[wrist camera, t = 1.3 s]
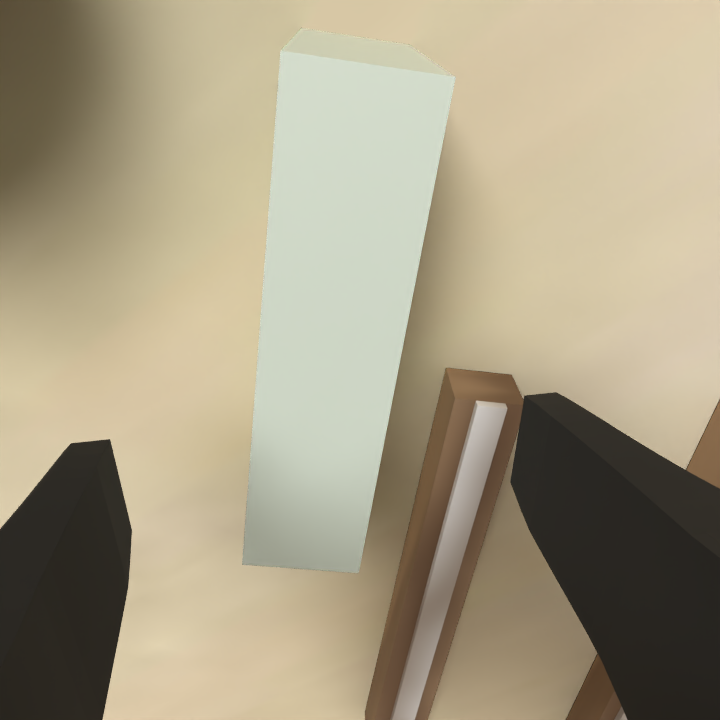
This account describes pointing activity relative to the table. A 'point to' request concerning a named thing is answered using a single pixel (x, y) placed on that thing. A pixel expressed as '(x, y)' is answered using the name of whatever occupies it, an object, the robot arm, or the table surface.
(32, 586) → the robot arm
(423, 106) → the door panel
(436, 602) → the sliding track
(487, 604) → the table surface
